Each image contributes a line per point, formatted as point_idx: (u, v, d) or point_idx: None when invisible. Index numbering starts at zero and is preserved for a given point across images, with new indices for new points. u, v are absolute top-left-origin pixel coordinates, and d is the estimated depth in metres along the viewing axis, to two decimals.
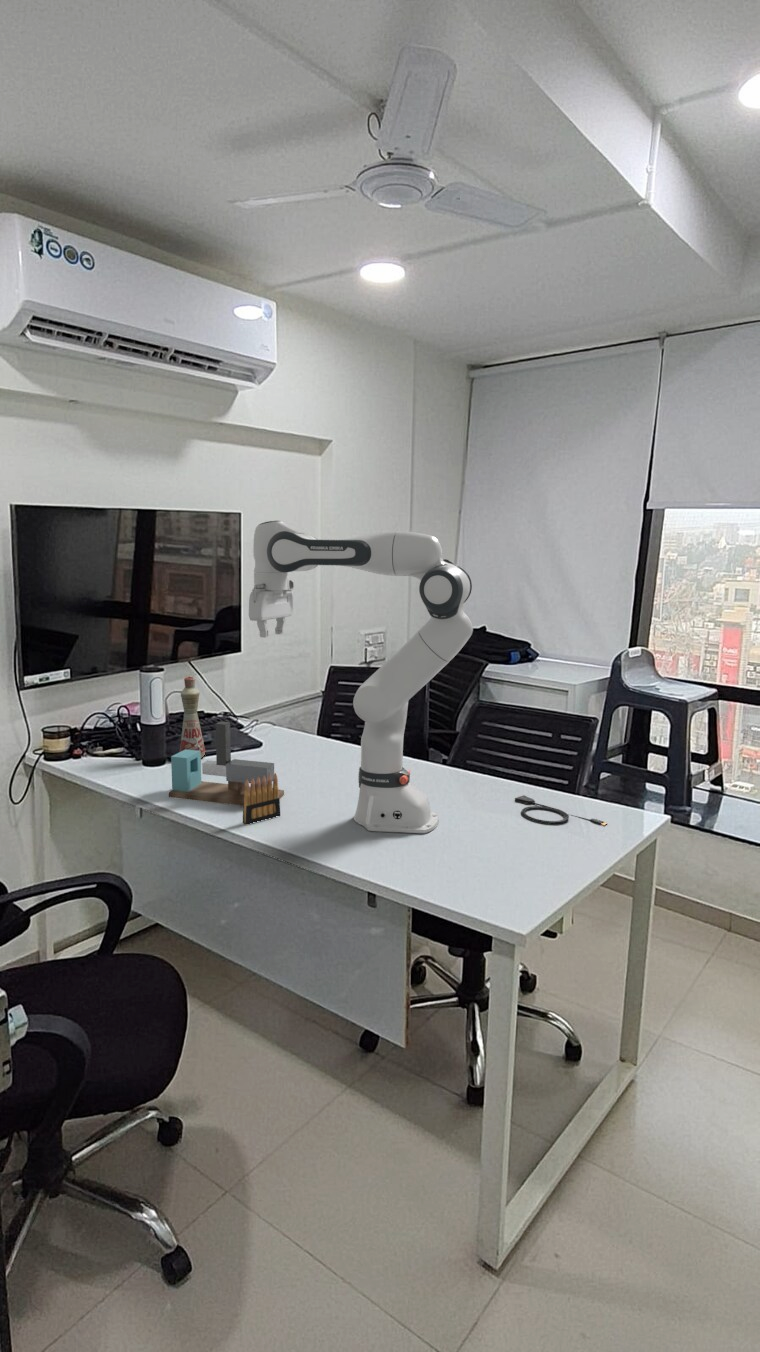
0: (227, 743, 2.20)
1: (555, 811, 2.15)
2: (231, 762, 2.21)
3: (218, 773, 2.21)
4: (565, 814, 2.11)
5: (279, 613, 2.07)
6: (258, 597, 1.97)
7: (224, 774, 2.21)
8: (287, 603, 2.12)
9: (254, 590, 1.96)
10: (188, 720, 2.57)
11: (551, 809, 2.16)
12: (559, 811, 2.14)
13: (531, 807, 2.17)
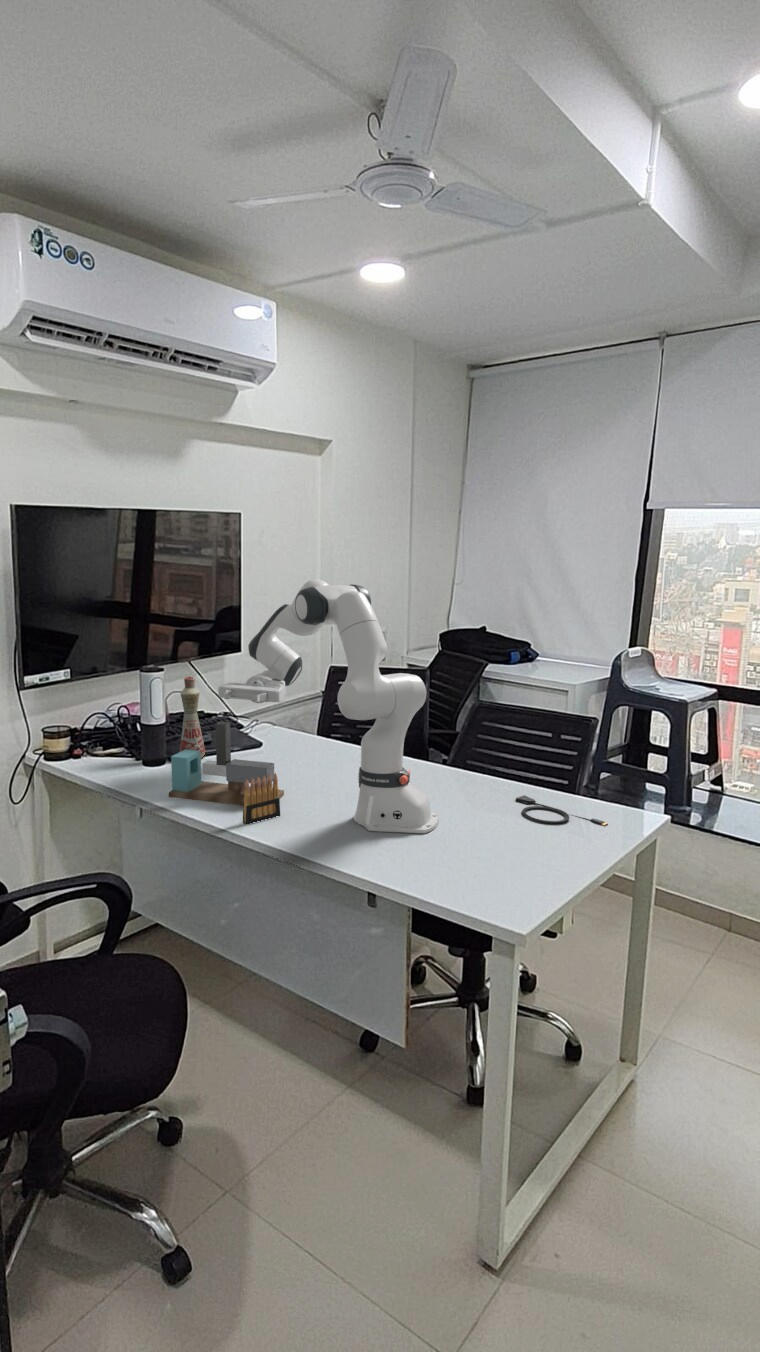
0: (227, 743, 2.20)
1: (556, 811, 2.15)
2: (231, 762, 2.21)
3: (218, 773, 2.21)
4: (566, 814, 2.11)
5: (252, 688, 2.36)
6: None
7: (224, 774, 2.21)
8: (271, 687, 2.37)
9: None
10: (188, 720, 2.57)
11: (552, 809, 2.16)
12: (560, 811, 2.14)
13: (532, 807, 2.17)
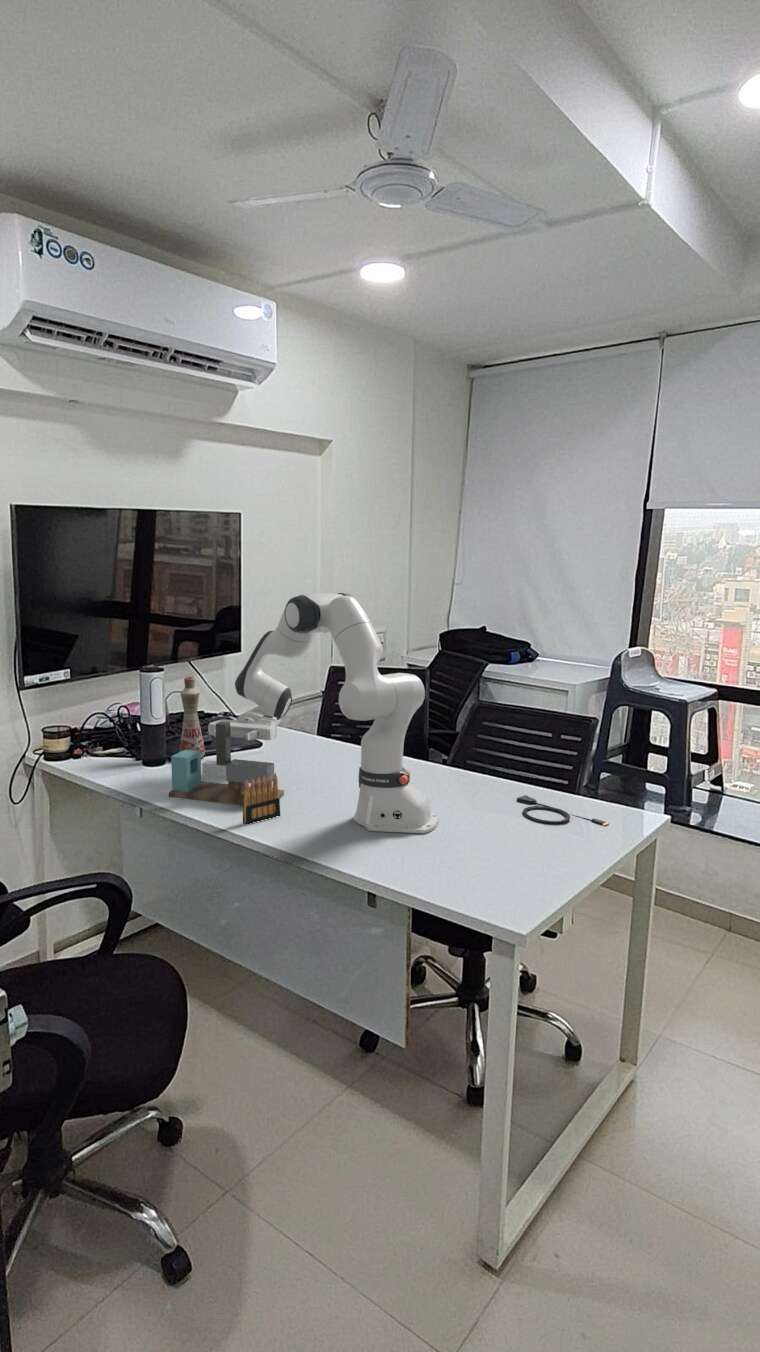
0: (227, 743, 2.20)
1: (556, 811, 2.15)
2: (231, 762, 2.21)
3: (218, 773, 2.21)
4: (566, 814, 2.11)
5: (243, 725, 2.30)
6: None
7: (224, 774, 2.21)
8: (262, 725, 2.31)
9: None
10: (188, 720, 2.57)
11: (552, 809, 2.16)
12: (560, 811, 2.14)
13: (533, 807, 2.17)
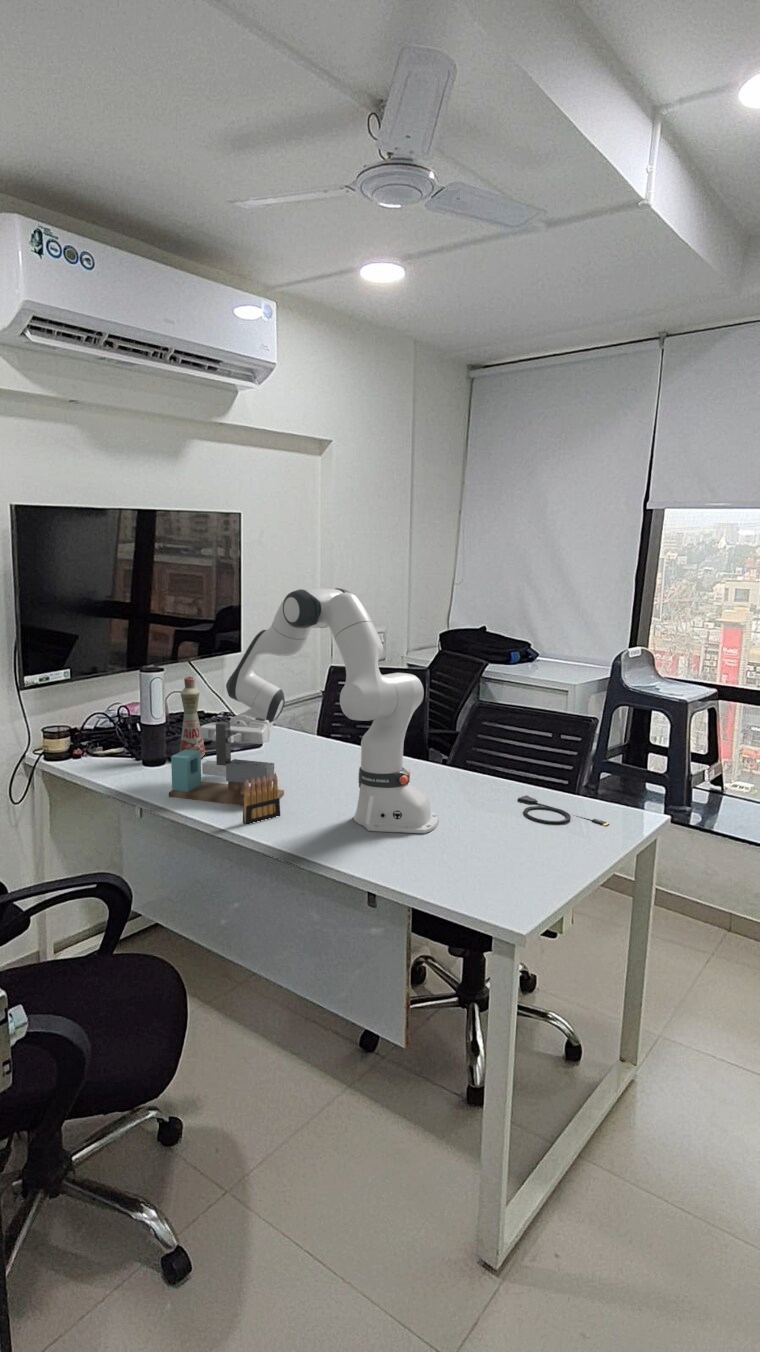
0: (227, 743, 2.20)
1: (557, 811, 2.15)
2: (231, 762, 2.21)
3: (218, 773, 2.21)
4: (567, 814, 2.11)
5: (234, 728, 2.25)
6: None
7: (224, 774, 2.21)
8: (254, 728, 2.26)
9: None
10: (188, 720, 2.57)
11: (553, 809, 2.16)
12: (561, 811, 2.14)
13: (533, 807, 2.17)
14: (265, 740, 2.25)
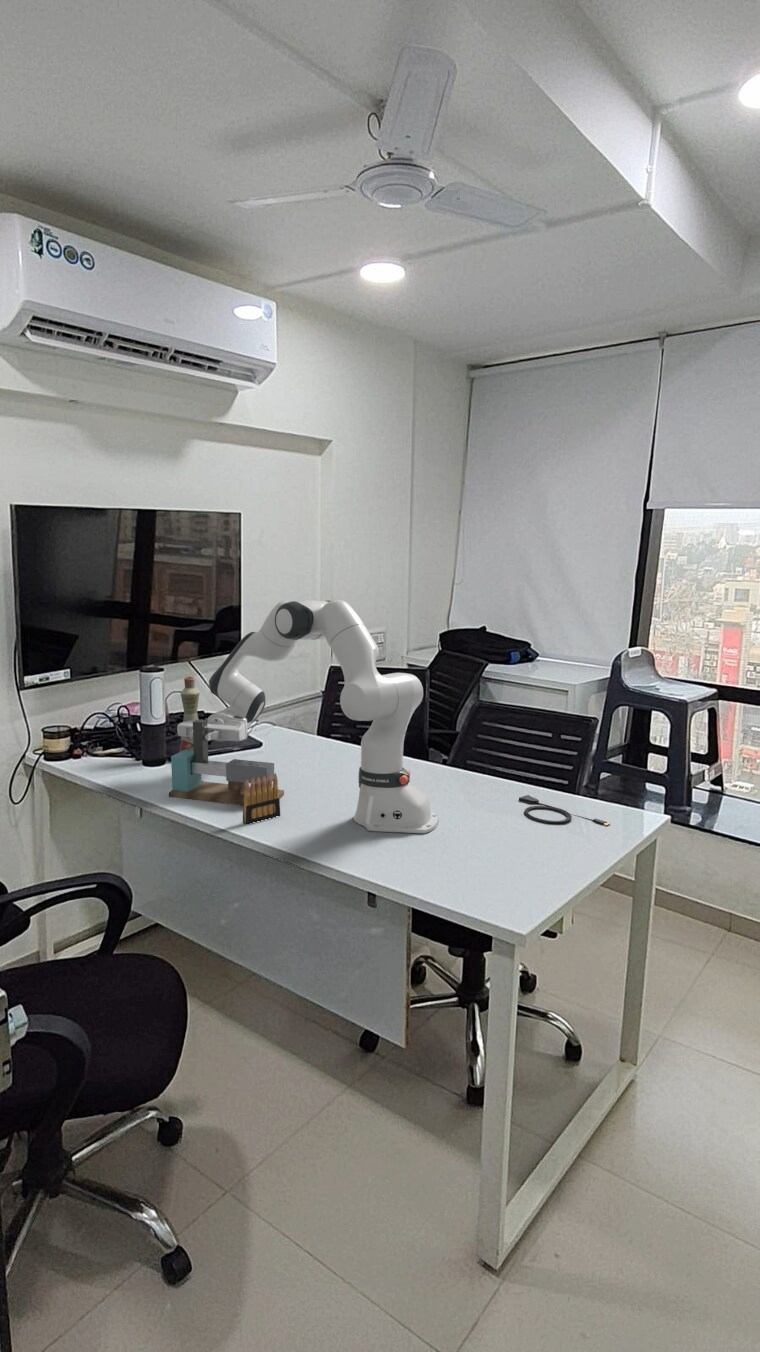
0: (204, 741, 2.22)
1: (558, 811, 2.15)
2: (231, 762, 2.21)
3: (195, 770, 2.23)
4: (568, 814, 2.11)
5: (212, 726, 2.27)
6: None
7: (201, 772, 2.23)
8: (232, 726, 2.28)
9: None
10: (188, 720, 2.57)
11: (554, 809, 2.16)
12: (562, 811, 2.14)
13: (534, 807, 2.17)
14: (242, 738, 2.27)
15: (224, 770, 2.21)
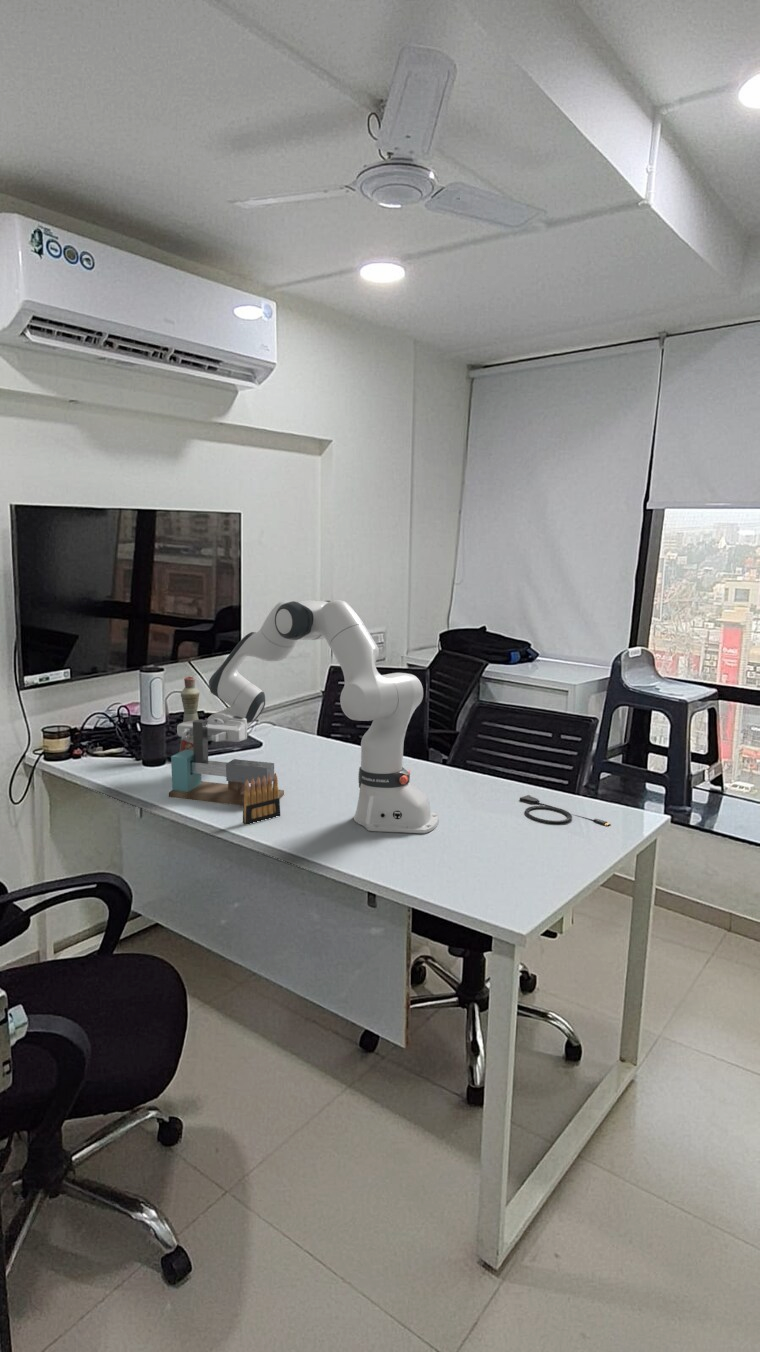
0: (204, 741, 2.22)
1: (559, 811, 2.15)
2: (231, 762, 2.21)
3: (195, 770, 2.23)
4: (568, 814, 2.11)
5: (212, 726, 2.27)
6: None
7: (201, 772, 2.23)
8: (232, 726, 2.28)
9: None
10: (188, 720, 2.57)
11: (555, 809, 2.16)
12: (563, 811, 2.14)
13: (535, 807, 2.17)
14: (242, 738, 2.27)
15: (224, 770, 2.21)
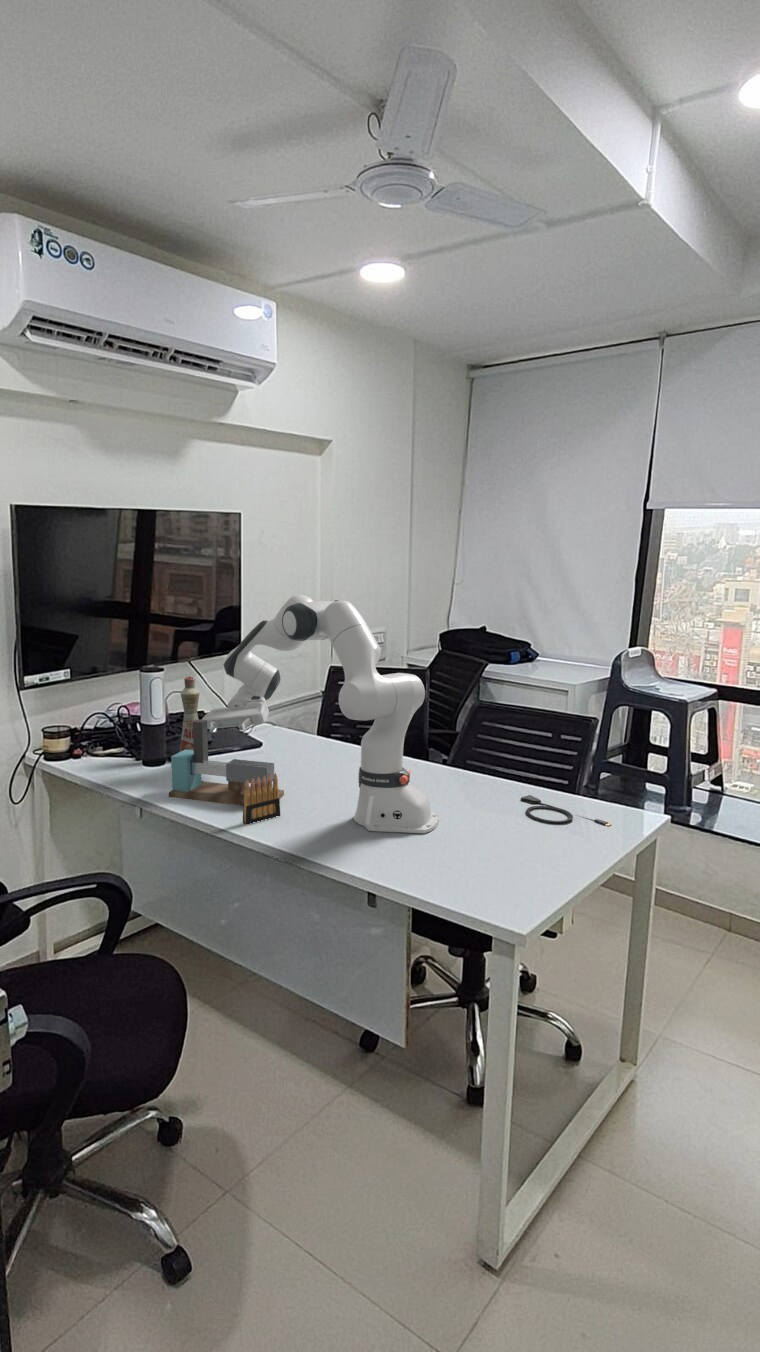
0: (204, 741, 2.22)
1: (560, 811, 2.15)
2: (231, 762, 2.21)
3: (195, 770, 2.23)
4: (569, 814, 2.11)
5: (235, 714, 2.38)
6: None
7: (201, 772, 2.23)
8: (253, 709, 2.38)
9: None
10: (188, 720, 2.57)
11: (556, 809, 2.16)
12: (564, 811, 2.14)
13: (536, 807, 2.17)
14: (266, 718, 2.38)
15: (224, 770, 2.21)
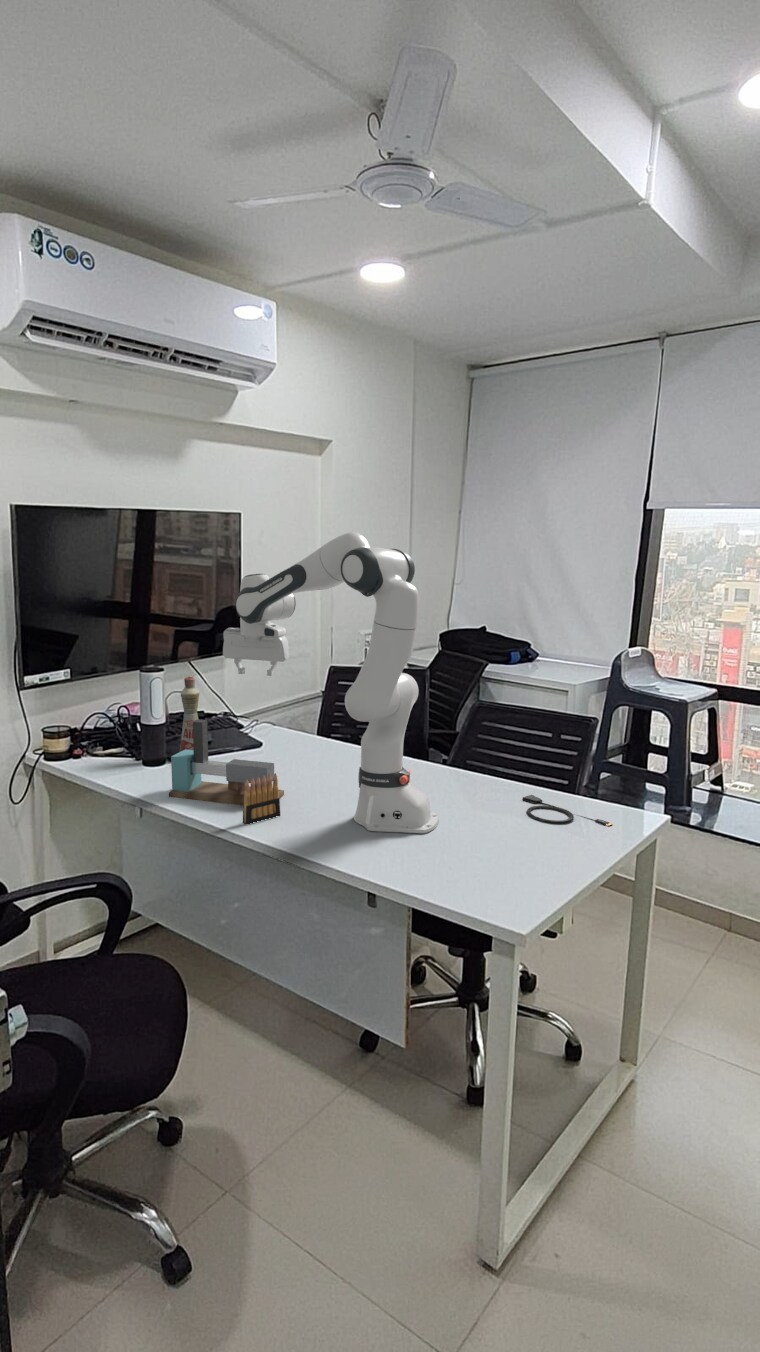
0: (204, 741, 2.22)
1: (561, 811, 2.15)
2: (231, 762, 2.21)
3: (195, 770, 2.23)
4: (570, 814, 2.11)
5: (256, 655, 2.30)
6: None
7: (201, 772, 2.23)
8: (272, 648, 2.28)
9: None
10: (188, 720, 2.57)
11: (557, 809, 2.16)
12: (565, 811, 2.14)
13: (537, 806, 2.17)
14: (288, 649, 2.30)
15: (224, 770, 2.21)
